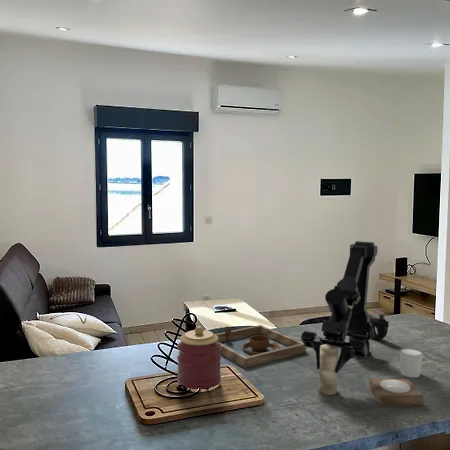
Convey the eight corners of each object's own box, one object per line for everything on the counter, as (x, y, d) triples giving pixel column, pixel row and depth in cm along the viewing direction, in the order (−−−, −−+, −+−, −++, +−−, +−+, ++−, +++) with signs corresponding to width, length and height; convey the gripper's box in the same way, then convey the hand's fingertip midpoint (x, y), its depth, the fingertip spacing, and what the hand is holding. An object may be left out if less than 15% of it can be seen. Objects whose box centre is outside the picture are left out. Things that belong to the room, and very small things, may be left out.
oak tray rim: (203, 344, 177) (203, 336, 177) (260, 332, 192) (260, 324, 191) (245, 367, 155) (245, 358, 155) (306, 352, 170) (306, 343, 169)
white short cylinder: (424, 379, 147) (425, 357, 146) (400, 377, 148) (401, 355, 148) (419, 370, 154) (420, 349, 153) (397, 368, 155) (398, 347, 155)
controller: (381, 343, 179) (382, 317, 178) (359, 334, 190) (360, 309, 189) (390, 342, 180) (391, 316, 179) (367, 332, 192) (368, 308, 191)
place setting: (242, 360, 163) (243, 343, 162) (221, 342, 181) (221, 327, 181) (288, 354, 169) (288, 337, 169) (263, 336, 188) (263, 322, 187)
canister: (226, 378, 147) (227, 322, 145) (211, 396, 134) (212, 335, 133) (187, 373, 151) (187, 318, 149) (169, 390, 139) (169, 330, 137)
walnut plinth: (369, 388, 140) (369, 377, 140) (406, 388, 140) (406, 377, 140) (382, 406, 129) (382, 394, 129) (422, 406, 129) (423, 394, 129)
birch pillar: (315, 389, 139) (316, 346, 138) (327, 385, 142) (328, 343, 141) (327, 396, 135) (329, 351, 134) (340, 392, 138) (341, 348, 136)
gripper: (303, 304, 144) (289, 351, 136) (366, 313, 135) (355, 364, 127) (311, 323, 152) (298, 368, 143) (372, 332, 143) (361, 382, 134)
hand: (326, 370), depth 137 cm, fingers closed on birch pillar, 5 cm apart
